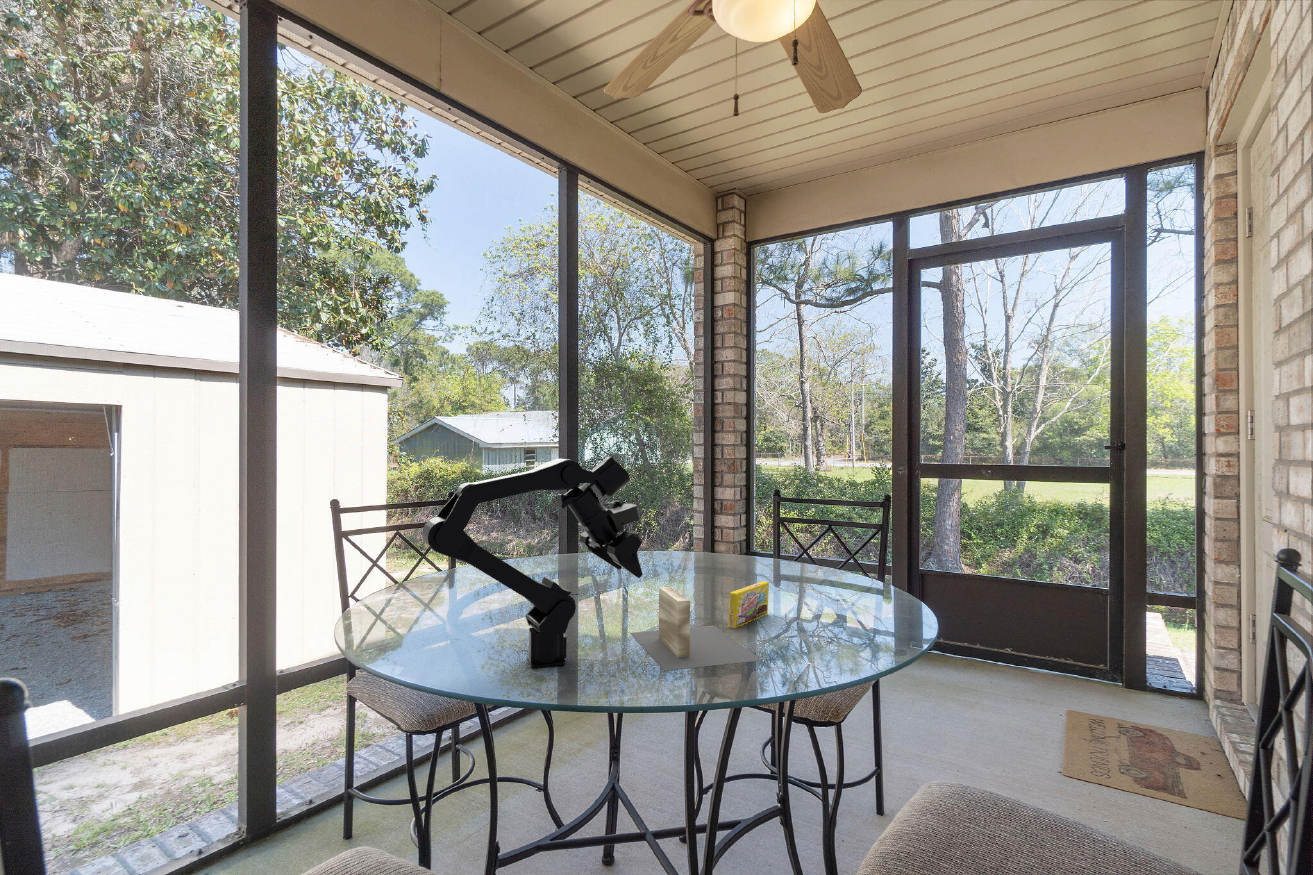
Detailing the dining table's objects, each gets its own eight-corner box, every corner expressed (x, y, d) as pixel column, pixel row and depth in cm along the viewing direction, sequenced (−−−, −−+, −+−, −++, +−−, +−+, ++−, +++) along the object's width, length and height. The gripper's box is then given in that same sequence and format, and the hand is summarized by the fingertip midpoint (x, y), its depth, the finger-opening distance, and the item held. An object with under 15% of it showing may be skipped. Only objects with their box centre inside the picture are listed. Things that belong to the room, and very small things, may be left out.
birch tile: (677, 657, 125) (678, 601, 125) (658, 639, 136) (659, 587, 136) (689, 656, 126) (690, 600, 126) (669, 638, 137) (670, 586, 137)
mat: (664, 672, 118) (664, 670, 118) (629, 634, 140) (629, 632, 140) (762, 661, 124) (762, 660, 124) (713, 626, 147) (713, 625, 147)
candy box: (735, 630, 144) (736, 593, 144) (727, 628, 146) (727, 592, 146) (769, 614, 157) (769, 581, 157) (761, 613, 159) (761, 580, 159)
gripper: (641, 491, 122) (681, 554, 127) (601, 485, 139) (638, 541, 143) (597, 528, 118) (640, 592, 122) (561, 517, 134) (600, 573, 139)
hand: (630, 572), depth 132 cm, fingers open, 9 cm apart
